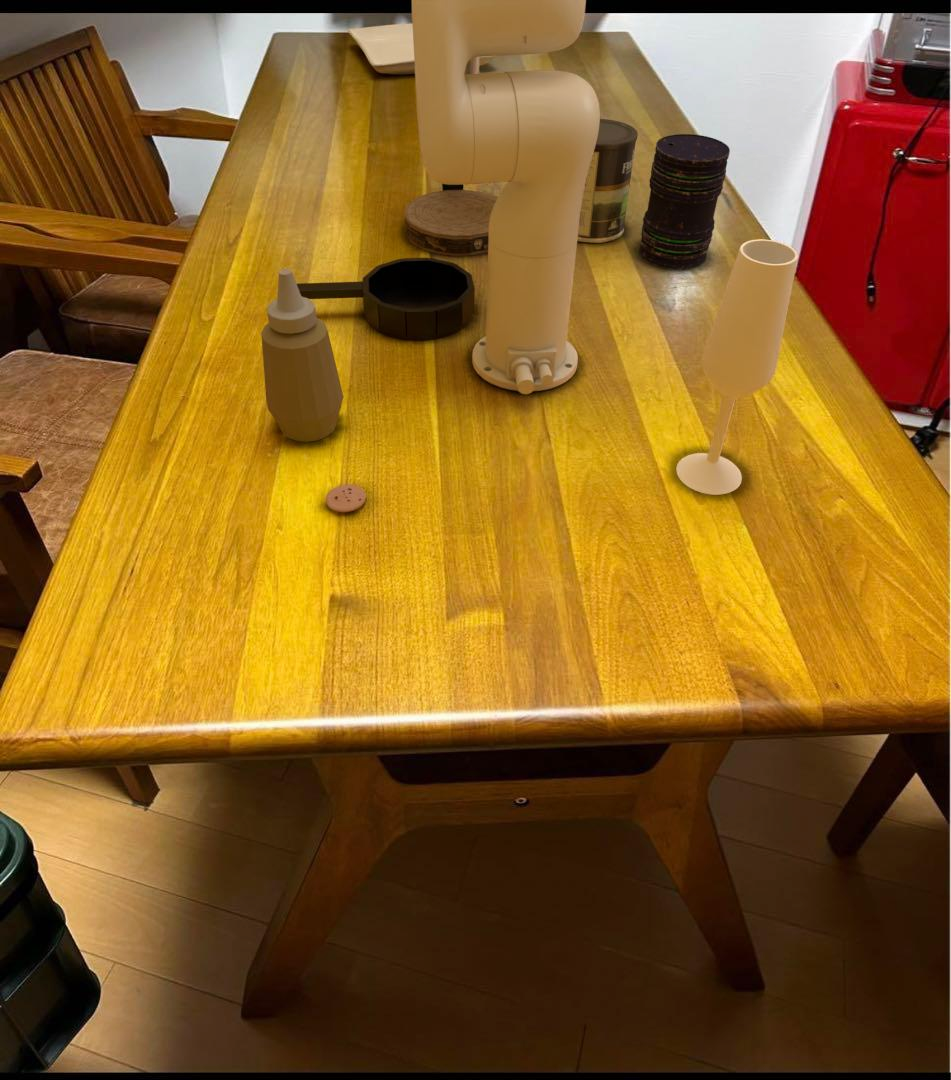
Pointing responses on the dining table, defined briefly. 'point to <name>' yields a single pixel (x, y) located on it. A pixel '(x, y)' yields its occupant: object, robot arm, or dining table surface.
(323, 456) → the dining table surface
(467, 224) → the brown flat disc
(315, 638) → the dining table surface
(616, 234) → the coffee can
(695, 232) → the dark brown cylinder
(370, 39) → the square plate
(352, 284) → the frying pan
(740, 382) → the champagne flute
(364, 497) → the cookie
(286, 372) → the squeeze bottle
